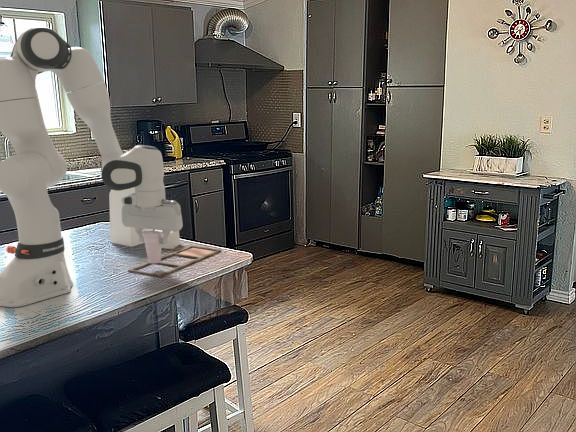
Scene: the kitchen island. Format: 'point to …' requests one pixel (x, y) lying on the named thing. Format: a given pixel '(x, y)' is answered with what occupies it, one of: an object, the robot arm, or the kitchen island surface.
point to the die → (172, 240)
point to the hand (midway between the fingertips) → (153, 242)
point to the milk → (117, 229)
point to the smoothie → (153, 245)
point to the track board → (188, 252)
